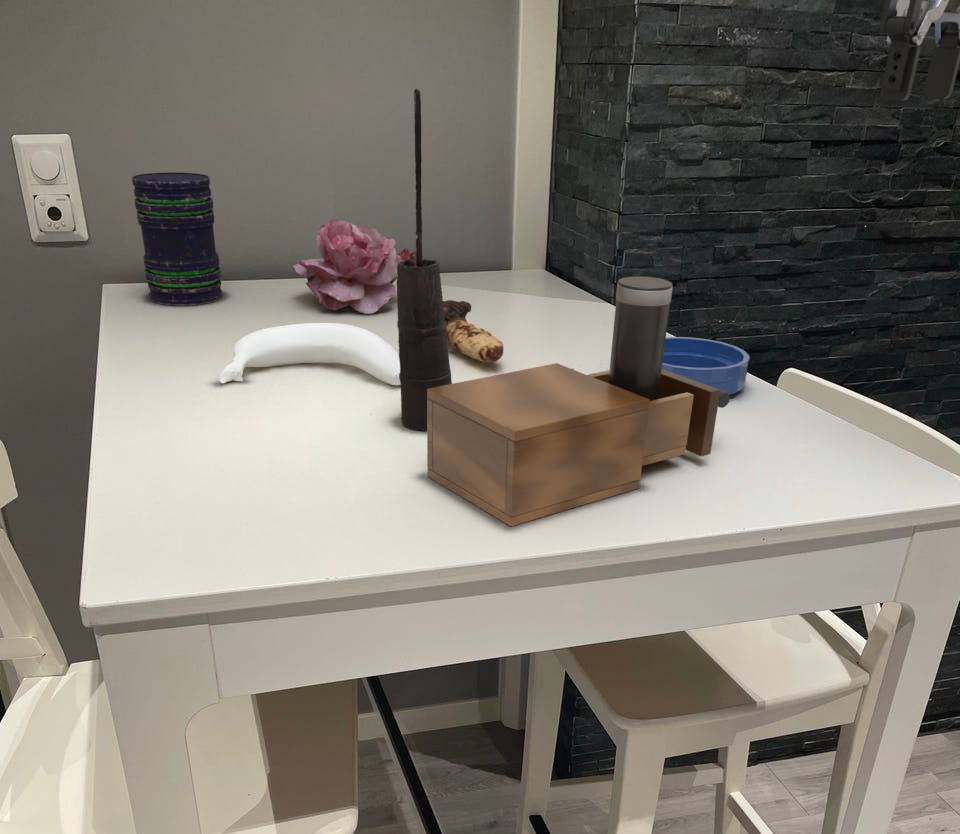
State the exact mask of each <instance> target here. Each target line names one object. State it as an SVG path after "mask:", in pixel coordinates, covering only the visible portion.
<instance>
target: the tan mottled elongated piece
mask: <svg viewBox="0 0 960 834" xmlns="http://www.w3.org/2000/svg"><path fill="white" fill-rule="evenodd" d="M443 307H444V317H445V321H446V325H447V327H446V334H447V343H448V346H450V347H451V348H453V349H455V350H456V351H457V352H459V353H461V354H463V355H465V356H467V357H469V358H470V359H472V360H476V361H478V362H479V361H480V362H482V363H495V362H497V361H499V360H500V359H501V358H502V357H503V354H504V344H503V342H502V341H501V339H499V338H498V337H496V336H495V335H493V334H492V333H491V332H490V331H488V330H486V329H484V328H481V327H477V326H476V325H474V324H472V323H470V322H469V321H467V319H466V317H467V315H468V313H471V311H472V304H471V303H470V302H468V301H465V300H460V301H457V300H453V299H449V300H443Z"/></svg>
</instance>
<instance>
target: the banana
mask: <svg viewBox="0 0 960 834" xmlns="http://www.w3.org/2000/svg"><path fill="white" fill-rule="evenodd" d="M232 351H233V360H232V362H231V363H228V364H227V365H226V366H224V369H222V371H221V372H220V375H219V378H218V379H219V382H220V383H221V384H225V383H227V382H231V381H235V382H243V381H244V379H243V373H244V369H245V368H247V367H251V368H268V367H269V368H270V367H277V366H286V365H295V364H297V365H298V364H310V363H311V364H342V365H349V366H353V367H356V368H358V369H359V370H361V371H364V372H366V373H368V374H369V375H371V376H372V377H374V378H376V379H378V380H379V381H381V382H384V383H386V384H388V385H391V386H401V383H400V379H399V373H400V361H399V352H397V351H396V350H395V348H393V347H392V346H391V345H390V344H389V343H388V342H387V341H386V340H384V339H383V338H381V337H380V336H379V335H377V334H376V333H373V332H371V331H370V330H367V329H365V328H362V327H359V326H356V325H352V324H345V323H339V322H307V323H306V322H305V323H296V324H286V325H279V326H272V327H267V328H263V329H258V330H255V331H252V332H251V333H249V334H247V335H245V336H243V337H242V338H240V339H239V340H238V341H236V342H235V344H234V346H233V350H232Z"/></svg>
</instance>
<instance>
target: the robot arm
mask: <svg viewBox="0 0 960 834" xmlns="http://www.w3.org/2000/svg"><path fill="white" fill-rule="evenodd" d="M895 14H896V15H895ZM932 23H933V24H934V37H935V41H934V43H935V46H936V47H933V49H932V53H931V56H930V61H929V65H928V71H927V76H926V78H925V83H924V87H923V96H924V97H925V98H927V99H938V100H939V99H940V100H944V99H948V98H950V97H951V96H952V94H953V91H954V86H955V82H956V78H957V74H958V70H959V66H960V0H884V3H883V7H882V12H881V17H880V20H879V26H878V32H879V34H880V35H886V43H887V45H889V50H888V55H887V59H886V64H885V68H884V74H883V79H882V83H881V87H880V92H879V96H880V98H881V99H882V100H884V101H897V102H901V101H906V100H908V99H909V98H910V96H911V93H912V88H913V84H914V79H915V75H916V71H917V67H918V62H919V58H920V53H921V49H922V46H921V44H922V43H923V41H924V38H925V37H926V35H927V33H928V31H929V29H930V28H931V27H930V26H931V25H932ZM937 46H938V47H937Z"/></svg>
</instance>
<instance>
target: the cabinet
mask: <svg viewBox="0 0 960 834" xmlns="http://www.w3.org/2000/svg"><path fill="white" fill-rule="evenodd" d="M588 375H589V374H585V373H583V372H580V371H578V370H576V369H574V368H573V369H572V368H571V367H568V366H565V365H562V364H560V363H558V362H557V363H556V362H555V363H549V364H547V365H546V364H545V365H541V366H540V365H539V366H536V367H531V368H526V369H520V370H514V371H511V372H510V371H509V372H506V373H504V372H503V373H500V374H495V375H489V376H485V377H480V378H475V379H469V380H464V381H459V382H454V383H452V384H449V385H444V386H438V387H433V388H428V389H427V430H426V435H427V436H426V438H427V439H426V443H427V444H426V445H427V447H426V450H427V451H426V452H427V453H426V455H427V457H426V459H427V461H426V463H427V478H429V479H431V480H433V481H434V482H436V483H437V484H439V485H441V486H443V487H444V488H446V489H447V490H449V491H451V492H452V493H454V494H456V495H457V496H458V497H461V498H462V499H464V500H465V501H467V502H469V503H471V504H473V505H474V506H476V507H477V508H479V509H481V510H483V511H484V512H486V513H487V514H489V515H491V516H493V517H494V518H496V519H497V520H499V521H501V522H502V523H504V524H506V525H508V526H509V527H515V526H518V525H520V524H524V523H527V522H530V521H533V520H537V519H541V518H544V517H548V516H551V515H554V514H557V513H561V512H564V511H567V510H571V509H574V508H577V507H580V506H583V505H587V504H590V503H594V502H597V501H600V500H604V499H607V498H610V497H614V496H617V495H621V494H624V493H628V492H630V491H635V490H638V489H640V484H641V477H642V470H643V466H642V462H643V454H644V446H645V438H646V429H647V421H648V413H649V404H650V400H649V399H647V398H644V397H642V396H639V395H637V394H634V393H632V392H629V391H626V390H624V389H621V388H619V387H616V386H614V385H611V384H609V383H606V382H603V381H601V380H598V379H596V378H593V377H591V376H588Z"/></svg>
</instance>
